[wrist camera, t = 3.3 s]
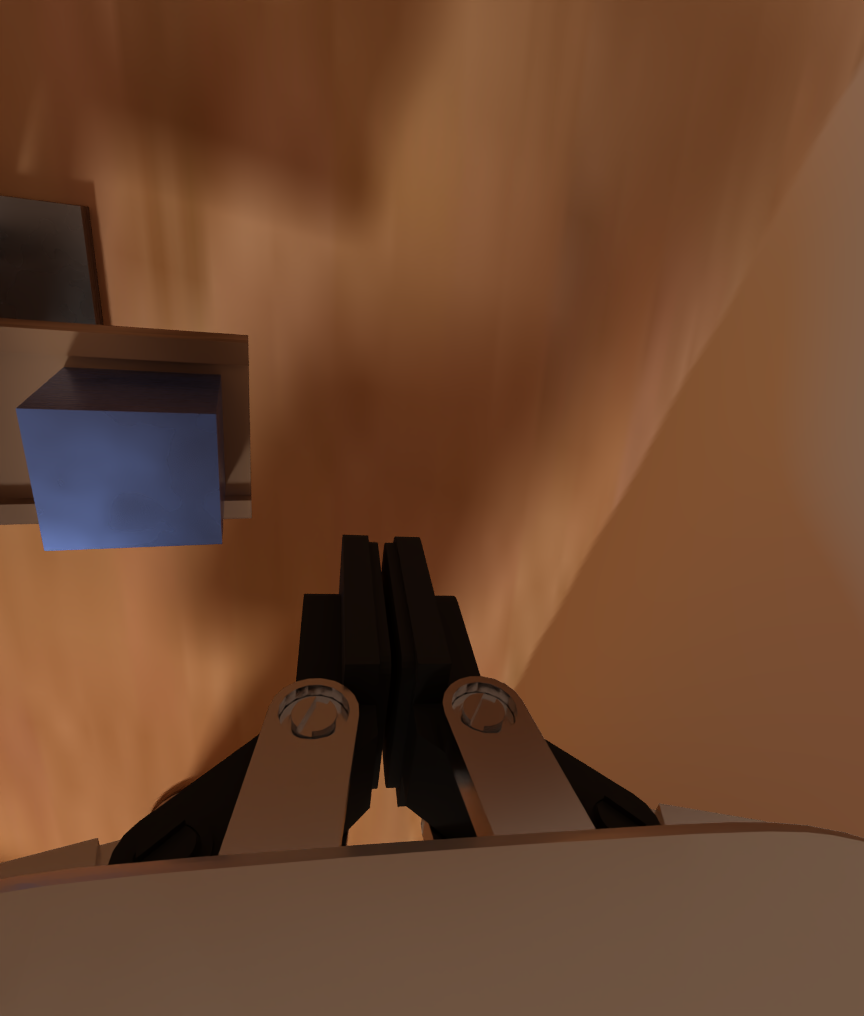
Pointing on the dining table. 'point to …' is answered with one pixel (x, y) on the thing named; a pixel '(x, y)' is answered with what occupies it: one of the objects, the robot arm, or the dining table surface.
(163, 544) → the blue block
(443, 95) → the dining table surface
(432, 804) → the robot arm
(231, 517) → the beam
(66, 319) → the stand
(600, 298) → the dining table surface
